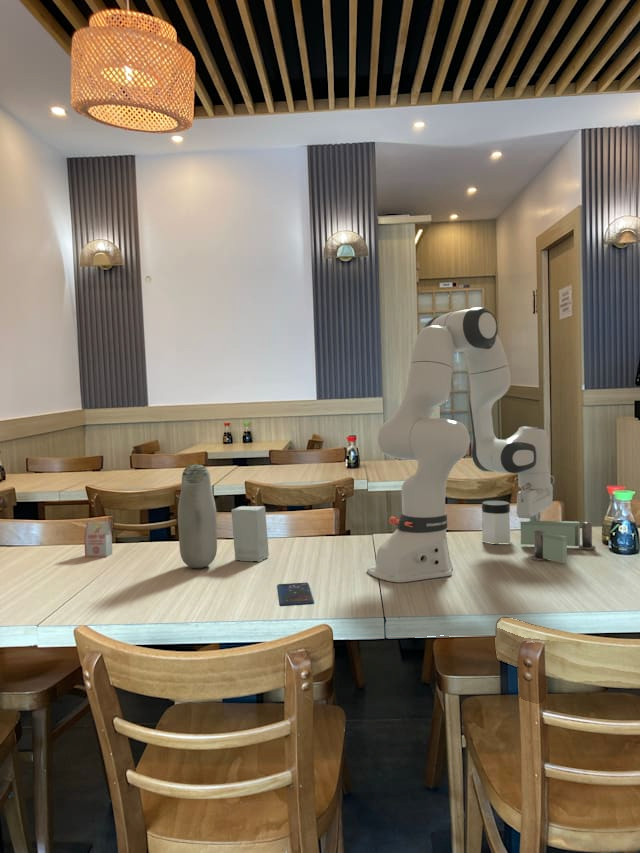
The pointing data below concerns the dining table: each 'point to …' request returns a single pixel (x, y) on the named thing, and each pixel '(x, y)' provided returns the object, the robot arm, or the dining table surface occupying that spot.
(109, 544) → the white printed carton
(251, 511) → the skincare box
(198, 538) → the grey tall rounded cylinder
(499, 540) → the jar
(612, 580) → the dining table surface
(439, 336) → the robot arm
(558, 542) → the fence panel
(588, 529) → the hinge post
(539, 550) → the post
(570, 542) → the gate
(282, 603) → the smartphone
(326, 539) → the dining table surface
